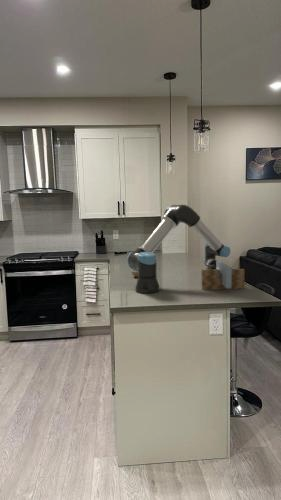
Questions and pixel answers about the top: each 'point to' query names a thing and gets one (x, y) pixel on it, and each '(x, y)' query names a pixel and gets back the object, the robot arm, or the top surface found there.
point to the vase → (134, 272)
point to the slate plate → (224, 273)
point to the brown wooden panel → (213, 279)
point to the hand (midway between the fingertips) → (222, 271)
